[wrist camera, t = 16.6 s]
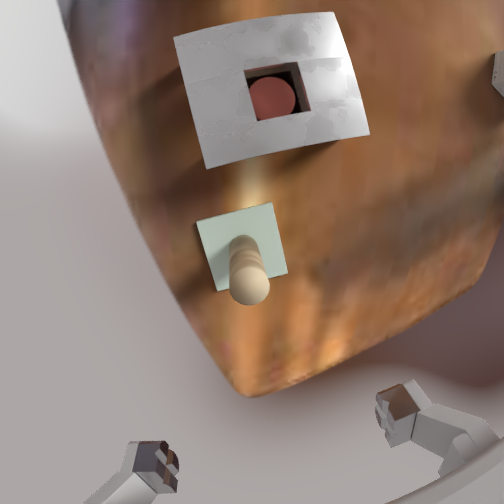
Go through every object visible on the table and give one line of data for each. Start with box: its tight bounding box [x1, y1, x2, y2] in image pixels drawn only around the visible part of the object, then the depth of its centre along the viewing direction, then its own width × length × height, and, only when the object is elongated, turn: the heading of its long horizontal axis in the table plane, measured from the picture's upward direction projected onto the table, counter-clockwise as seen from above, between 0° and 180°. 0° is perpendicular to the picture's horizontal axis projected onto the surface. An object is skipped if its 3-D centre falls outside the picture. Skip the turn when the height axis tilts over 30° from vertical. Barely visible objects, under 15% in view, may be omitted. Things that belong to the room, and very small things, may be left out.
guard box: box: [173, 12, 370, 169], centre depth 24 cm, size 14×12×7 cm
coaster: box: [196, 202, 288, 291], centre depth 32 cm, size 8×8×1 cm
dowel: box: [229, 235, 270, 305], centre depth 27 cm, size 3×3×10 cm
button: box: [249, 77, 295, 121], centre depth 26 cm, size 4×4×3 cm
